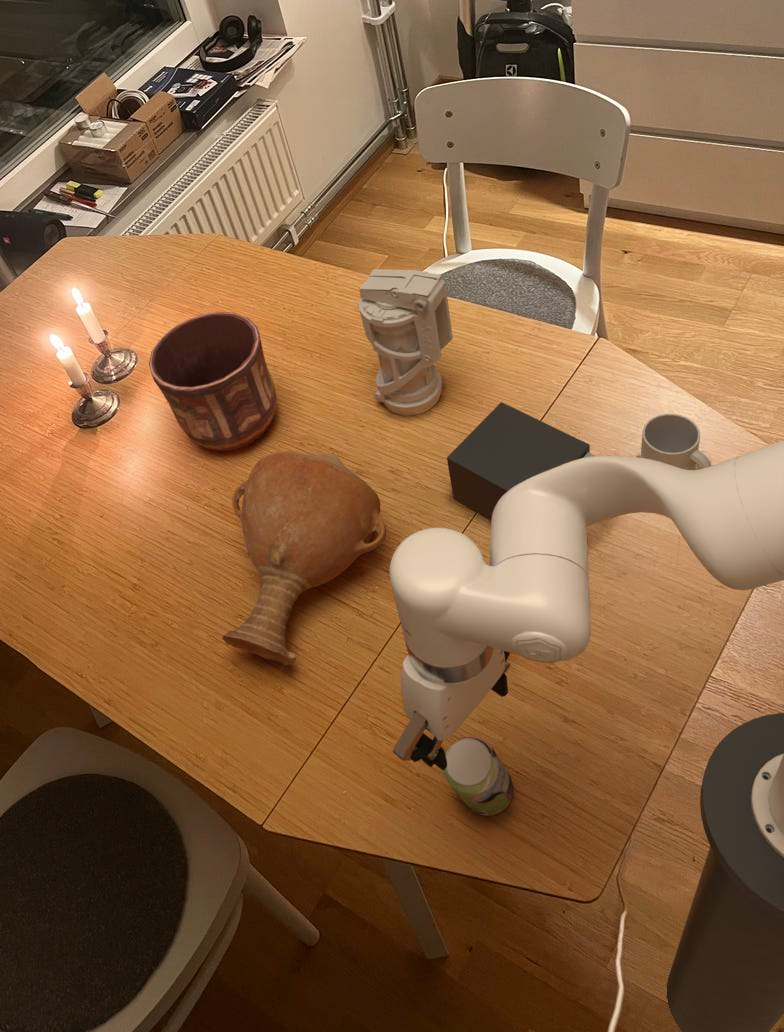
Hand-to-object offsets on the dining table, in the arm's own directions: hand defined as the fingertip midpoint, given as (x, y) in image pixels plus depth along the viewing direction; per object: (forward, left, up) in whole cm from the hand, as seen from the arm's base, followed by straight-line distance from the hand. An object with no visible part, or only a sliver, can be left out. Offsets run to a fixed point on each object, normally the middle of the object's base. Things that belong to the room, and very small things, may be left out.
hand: (464, 722), depth 91 cm
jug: (+38, -8, -20) cm, 44 cm away
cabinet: (+22, -38, -20) cm, 48 cm away
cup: (+6, -52, -20) cm, 56 cm away
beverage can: (0, 0, -20) cm, 20 cm away
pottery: (+69, -23, -20) cm, 75 cm away
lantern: (+47, -45, -20) cm, 68 cm away
